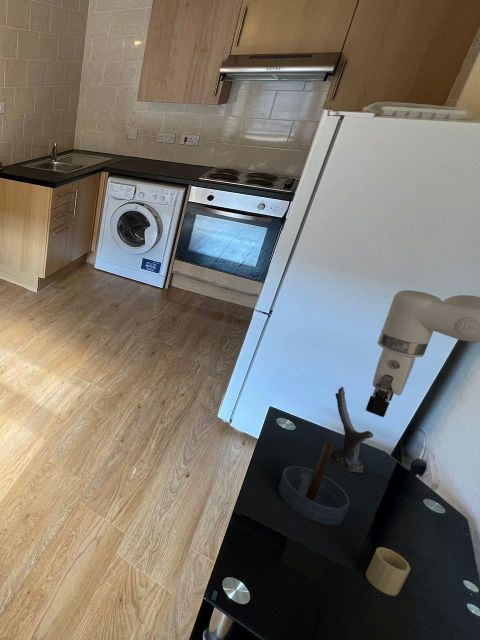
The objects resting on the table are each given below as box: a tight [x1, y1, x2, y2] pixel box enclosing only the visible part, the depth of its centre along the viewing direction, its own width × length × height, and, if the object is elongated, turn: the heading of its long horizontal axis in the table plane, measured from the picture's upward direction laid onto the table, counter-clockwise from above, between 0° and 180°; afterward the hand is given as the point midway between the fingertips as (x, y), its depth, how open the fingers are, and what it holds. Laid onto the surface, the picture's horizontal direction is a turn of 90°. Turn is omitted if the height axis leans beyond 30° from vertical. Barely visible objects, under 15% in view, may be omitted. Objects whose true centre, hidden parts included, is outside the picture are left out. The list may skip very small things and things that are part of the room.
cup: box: [365, 546, 411, 597], centre depth 91 cm, size 5×5×8 cm
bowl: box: [277, 465, 351, 526], centre depth 112 cm, size 14×14×6 cm
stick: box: [306, 440, 336, 501], centre depth 110 cm, size 2×2×20 cm
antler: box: [330, 386, 374, 473], centre depth 124 cm, size 12×8×25 cm
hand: (378, 405), depth 98 cm, fingers open, 9 cm apart
